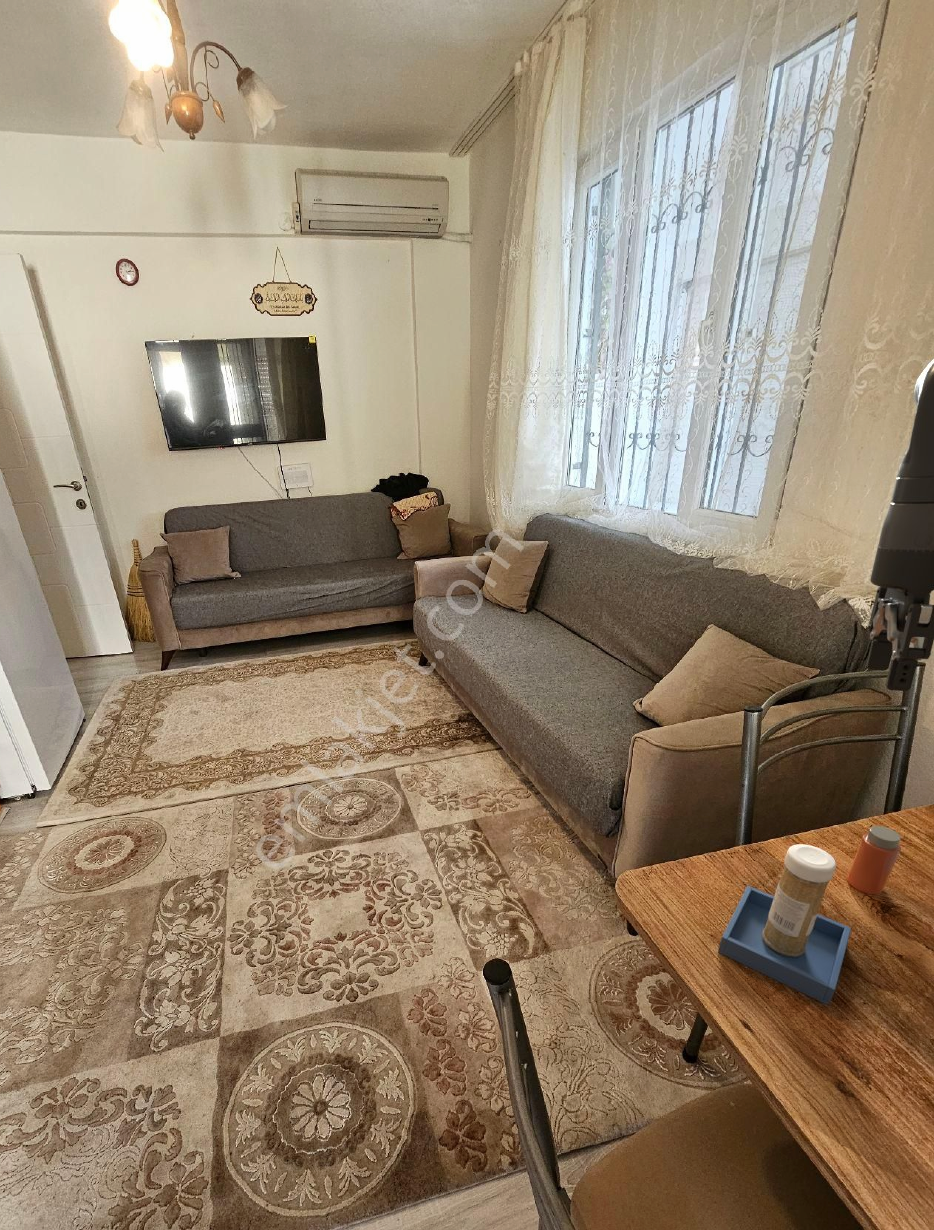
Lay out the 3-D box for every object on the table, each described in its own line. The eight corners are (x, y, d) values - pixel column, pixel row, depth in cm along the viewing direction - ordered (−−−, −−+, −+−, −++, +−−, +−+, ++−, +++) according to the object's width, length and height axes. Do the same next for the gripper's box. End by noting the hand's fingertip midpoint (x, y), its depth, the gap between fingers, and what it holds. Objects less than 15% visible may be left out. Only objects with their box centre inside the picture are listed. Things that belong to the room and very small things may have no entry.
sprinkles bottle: (814, 954, 68) (848, 865, 62) (781, 962, 67) (812, 873, 62) (783, 925, 72) (812, 839, 66) (751, 932, 71) (778, 846, 66)
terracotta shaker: (884, 882, 79) (906, 831, 75) (881, 899, 76) (903, 847, 72) (849, 869, 81) (868, 820, 77) (844, 885, 79) (864, 834, 75)
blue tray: (845, 942, 70) (851, 927, 69) (828, 1006, 63) (835, 990, 62) (743, 899, 77) (747, 885, 76) (717, 952, 70) (721, 936, 69)
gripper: (992, 550, 58) (947, 701, 64) (939, 537, 70) (905, 665, 76) (898, 550, 61) (863, 694, 67) (863, 538, 73) (836, 661, 79)
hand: (886, 679), depth 71 cm, fingers open, 8 cm apart
